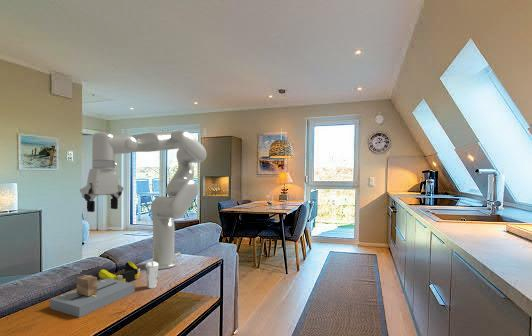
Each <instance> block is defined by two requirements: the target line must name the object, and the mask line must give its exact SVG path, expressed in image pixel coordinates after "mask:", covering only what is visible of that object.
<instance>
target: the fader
mask: <svg viewBox="0 0 532 336" xmlns="http://www.w3.org/2000/svg"><path fill="white" fill-rule="evenodd" d="M97 282H98V277H97V276H93V275H89V274H83V275H81V276H78V277H76V289H77V292H76V293H77V294H81V295H85V296H90V295H92V294H95V293H97Z"/></svg>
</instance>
